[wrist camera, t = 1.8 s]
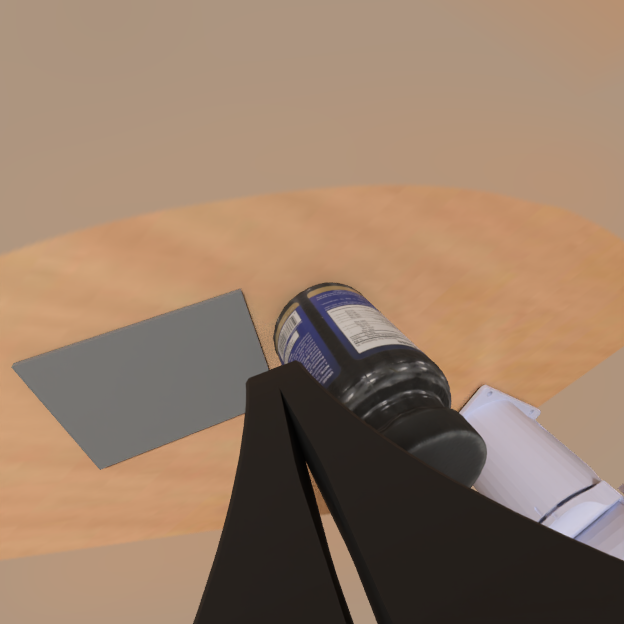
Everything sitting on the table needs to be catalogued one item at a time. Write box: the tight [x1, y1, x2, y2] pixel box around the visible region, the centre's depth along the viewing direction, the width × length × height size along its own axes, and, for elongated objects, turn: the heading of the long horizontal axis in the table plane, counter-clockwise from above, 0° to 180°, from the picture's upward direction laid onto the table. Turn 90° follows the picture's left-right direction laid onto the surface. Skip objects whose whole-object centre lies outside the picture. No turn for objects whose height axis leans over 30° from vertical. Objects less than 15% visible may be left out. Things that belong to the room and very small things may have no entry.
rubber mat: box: [12, 289, 269, 470], centre depth 20 cm, size 11×8×1 cm
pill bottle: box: [273, 283, 487, 488], centre depth 17 cm, size 6×6×11 cm
